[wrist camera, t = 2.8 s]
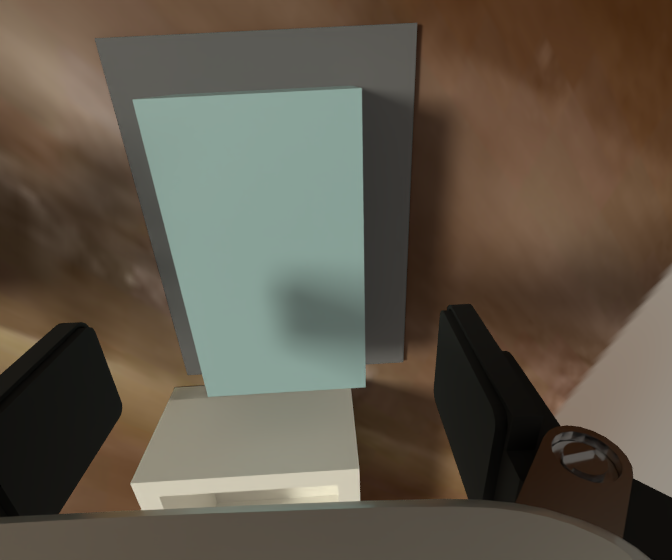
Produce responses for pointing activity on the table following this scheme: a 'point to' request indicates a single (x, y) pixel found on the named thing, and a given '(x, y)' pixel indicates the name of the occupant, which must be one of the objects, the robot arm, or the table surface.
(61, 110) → the table surface
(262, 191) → the teal rectangular block
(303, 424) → the white open-top box
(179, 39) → the mat
